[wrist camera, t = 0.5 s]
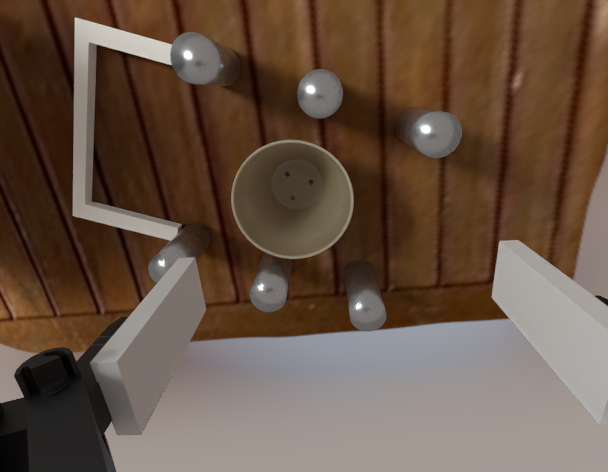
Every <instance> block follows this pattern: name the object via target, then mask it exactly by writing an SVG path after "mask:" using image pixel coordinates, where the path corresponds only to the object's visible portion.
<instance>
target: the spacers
mask: <svg viewBox="0 0 608 472" xmlns="http://www.w3.org/2000/svg"><path fill="white" fill-rule="evenodd" d="M170 59H171V64H172V67H173V69H174V71H175V72H176V74H177V75H178V76H179V77H180V78H181V79H182V80H184V81H186V82H188V83H191V84H200V85H214V86H230V85H232V84H234V83H235V82H236V81H237V80H238V78H239V76H240V73H241V63H240V60H239V58H238V56H237V55H236V53H235V52H234V51H232V50H231V49H229V48H227V47H225V46H223V45H221V44H219V43H217V42H215V41H213V40H211V39H209V38H207V37H205V36H203V35H201V34H198V33H194V32H187V33H184V34H182V35H180V36H179V37H177V38H176V40H175V41H174V42H173V45H172V47H171V52H170ZM297 98H298V102H299V105H300V107H301V108H302V110H303V111H304V112H305V113H306V114H307V115H309V116H311V117H314V118H326V117H329V116H330V115H332V114H333V113H335V112H336V111H337V109H338V108H339V106H340V104H341V102H342V98H343V88H342V85H341V82H340V80H339V79H338V77H337V76H336V75H335V74H333V73H332V72H330V71H328V70H324V69H316V70H313V71H311V72H309V73H307V74H306V75H305V76H304V77H303V78H302V80H301V81H300V83H299V86H298V90H297ZM395 131H396V134H397V136H398V138H399V139H400V140H401V141H403V142H404V143H406V144H408V145H409V146H411V147H413V148H414V149H416V150H418V151H419V152H421V153H423V154H424V155H426V156H428V157H432V158H441V157H445V156H447V155H449V154H450V153H452V152H453V151H454V150H455V149H456V148H457V146H458V145H459V143H460V140H461V137H462V127H461V124H460V122H459V120H458V119H457V118H456V117H455V116H454V115H452V114H450V113H447V112H441V111H434V110H428V109H421V108H409V109H407V110H405V111H403V112H402V113H401V114H400V115H399V117H398V118H397V121H396V124H395ZM211 240H212V237H211V233H210V231H209V230H208V228H207V227H206V226H204V225H202V224H200V223H190V224H188V225H186V226H185V227H184V228H183V229H182V230H181V231H180V232H179V233H178V234H177V235H176V236H175V237H174V238H173V239H172V240H171V241H170V242H169V243H168V244H167V245H166V246H165V247H164V248H163V249H162V250H161V251H160V252H159V253H158V254H157V255H156V256H154V257H153V258H152V259H151V261H150V262H149V266H148V271H149V274H150V276H151V278H152V279H153V280H154V281H155V282H156V283H158V282H159V281H160V279H161V278H162V277H163V276H164V275H165V273H166V272H167V271H168V270H169V269H170V268H171V266H172V265H173V264H174V263H175V262H176V260H177V259H178V258H191V257H195V259H196V263H197V261H198V260H199V259H200V257H201V256H202V255H203V253H204V252H205V251H206V249H207V248H208V246H209V245H210V243H211ZM292 262H293V259H286V258H280V257H276V256H273V255H270V254H268V253H266V252H264V255H263V258H262V260H261V263H260V266H259V269H258V272H257V274H256V277H255V280H254V283H253V286H252V288H251V291H250V299H251V302H252V303H253V305H254V306H255V307H256V308H258V309H259V310H262V311H265V312H274V311H277V310H279V309H280V308H282V307H283V305H284V304H285V302H286V297H287V291H288V285H289V279H290V274H291V268H292ZM345 282H346V290H347V298H348V306H349V313H350V320H351V322H352V324H353V325H354V326H355V327H356V328H357V329H359V330H362V331H373V330H376V329H378V328H380V327H381V326H382V325H383V324H384V322H385V320H386V310H385V307H384V304H383V300H382V297H381V293H380V290H379V287H378V283H377V280H376V276H375V273H374V270H373V267H372V266H371V265H370V264H369V263H368V262H365V261H354V262H352V263H350V264H349V265H348V266H347V268H346V269H345Z"/></svg>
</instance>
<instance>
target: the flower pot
mask: <svg viewBox="0 0 608 472" xmlns="http://www.w3.org/2000/svg"><path fill="white" fill-rule="evenodd" d="M286 174H288V176H286ZM310 180H312V182H309V181H310ZM293 197H295V198H294V199H293ZM231 205H232V210H233V214H234V217H235V220H236V222H237V225H238V227H239V228H240V230H241V231H242V233H243V234H244V236H245V237H246V238H247V239H248V240H249V241H250V242H251V243H252V244H253V245H255V246H256V247H257V248H259V249H260V250H262V251H264V252H266V253H268V254H270V255H273V256H276V257H280V258H286V259H301V258H307V257H311V256H314V255H317V254H319V253H321V252H323V251H325V250H327V249H328V248H330V247H331V246H332V245H333V244H334V243H336V242H337V241H338V240H339V238H340V237H341V236H342V235H343V233H344V232H345V230H346V229H347V227H348V225H349V223H350V220H351V217H352V213H353V207H354V194H353V188H352V184H351V181H350V178H349V176H348V174H347V172H346V170H345V169H344V167H343V166H342V164H341V163H340V162H339V161H338V160H337V159H336V158H335V157H334V156H333V155H332V154H331V153H329V152H328V151H327V150H325V149H323V148H322V147H320V146H318V145H315V144H313V143H310V142H306V141H301V140H282V141H277V142H273V143H270V144H267V145H265V146H263V147H261V148H259V149H258V150H256V151H255V152H254V153H252V154H251V155H250V156H249V157H248V158H247V159H246V160H245V161H244V162H243V164H242V165H241V167H240V168H239V170H238V172H237V174H236V176H235V179H234V182H233V186H232V192H231Z"/></svg>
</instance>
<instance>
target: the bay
mask: <svg viewBox="0 0 608 472" xmlns="http://www.w3.org/2000/svg"><path fill="white" fill-rule="evenodd" d="M97 45H101V46H104V47H108V48H111V49H115V50H119V51H122V52H126V53H129V54H133V55H137V56H140V57H144V58H147V59H151V60H154V61H158V62H162V63H165V64H169V65H172V64H171V59H170V52H171V47H172V44H168V43H164V42H161V41H157V40H154V39H150V38H147V37H143V36H140V35H136V34H133V33H129V32H125V31H122V30H118V29H115V28H111V27H108V26H104V25H101V24H97V23H93V22H90V21H86V20H83V19H79V18H76V17H75V49H74V140H73V216H75V217H79V218H83V219H87V220H91V221H95V222H99V223H103V224H107V225H111V226H115V227H119V228H122V229H126V230H130V231H134V232H138V233H142V234H146V235H150V236H154V237H158V238H162V239H166V240H170V241H171V240H172V239H173V238H174V237H175V236H176V235H177V234H178V233H179V232H180V231H181V230H182V224H179V223H175V222H171V221H168V220H164V219H160V218H156V217H152V216H148V215H144V214H140V213H136V212H132V211H128V210H125V209H121V208H117V207H113V206H109V205H105V204H101V203H97V202H93V201H92V179H93V148H94V117H95V86H96V55H97Z"/></svg>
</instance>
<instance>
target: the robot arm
mask: <svg viewBox="0 0 608 472" xmlns="http://www.w3.org/2000/svg"><path fill="white" fill-rule="evenodd" d="M492 298H493V300H494V301H495V302H496V303H497V304H498V306H499V307H500V308H501V309H502V310H503V312H504V313H505V314H506V315H507V316H508V317H509V319H510V320H511V321H512V322H513V323H514V325H515V326H516V327H517V328H518V329H519V330H520V332H521V333H522V334H523V335H524V336H525V338H526V339H527V340H528V341H529V342H530V343H531V345H532V346H533V347H534V348H535V349H536V351H537V352H538V353H539V354H540V355H541V357H542V358H543V359H544V360H545V361H546V362H547V364H548V365H549V366H550V367H551V368H552V370H553V371H554V372H555V373H556V374H557V376H558V377H559V378H560V379H561V380H562V381H563V383H564V384H565V385H566V386H567V387H568V389H569V390H570V391H571V392H572V393H573V394H574V396H575V397H576V398H577V399H578V400H579V401H580V403H581V404H582V405H583V406H584V407H585V409H586V410H587V411H588V412H589V413H590V415H591V416H592V417H593V418H594V419H595V421H596V422H597V423H598V424H599V425H608V299H606V298H603V297H601V296H593V295H592V294H590V293H589V292H588V291H586V290H585V289H584V288H582V287H581V286H580V285H578V284H577V283H576V282H574V281H573V280H572V279H570V278H569V277H568V276H566V275H565V274H563V273H562V272H561V271H559V270H558V269H557V268H555V267H554V266H553V265H551V264H550V263H549V262H547V261H546V260H545V259H543V258H542V257H541V256H539V255H538V254H536V253H535V252H534V251H532V250H531V249H530V248H528V247H527V246H526V245H524V244H523V243H522V242H520V241H519V240H509V241H499V248H498V255H497V262H496V269H495V276H494V284H493V291H492ZM205 311H206V306H205V302H204V297H203V292H202V287H201V282H200V278H199V273H198V268H197V263H196V259H195V257H191V258H178V259H177V260H176V262H175V263H174V264H173V265H172V266H171V268H170V269H169V270H168V271H167V272H166V273H165V275H164V276H163V277H162V278H161V279H160V281H159V282H158V283H157V284H156V285H155V286H154V288H153V289H152V290H151V291H150V292H149V294H148V295H147V296H146V297H145V298H144V299H143V301H142V302H141V303H140V304H139V305H138V307H137V308H136V309H135V310H134V311H133V312H132V314H131V315H130V316H129V317H121V318H120V319H118V320H117V321H115V322H114V323H112V324H111V325H109V326H108V327H107V328H106V330H105V331H104V332H103V333H102V334H101V335H100V337H99V338H97V340H96V341H95V342H94V343H93V346H90V347H89V348H88V350H87V351H86V352H85V353H84V354H83V355H82V356H81V357H80V358H79V360H78V361H77V362H76V360H75V358H74V355H73V353H72V351H71V350H70V349H68V348H63V347H62V348H53V349H50V350H47V351H43V352H41V353H39V354H37V355H35V356H33V357H31V358H30V359H28V360H27V361H25V362H24V363H23V364H22V365H21V366H20V367H19V368H18V369H17V370H16V372H15V375H14V377H15V379H16V381H17V383H18V385H19V387H20V389H21V391H22V393H23V395H24V398H20V399H16V400H12V401H8V402H4V403H0V472H116V469H115V466H114V462H113V459H112V456H111V452H110V449H109V445H108V442H107V439H106V437H105V434H104V432H105V431H106V429H107V428H108V426H109V424H110V423H111V421H112V423H113V426H114V429H115V431H116V434H117V435H142V433H143V431H144V429H145V427H146V425H147V423H148V421H149V419H150V417H151V416H152V414H153V412H154V410H155V408H156V406H157V404H158V402H159V400H160V398H161V396H162V394H163V392H164V390H165V388H166V386H167V384H168V383H169V381H170V379H171V377H172V375H173V373H174V371H175V369H176V367H177V365H178V363H179V361H180V359H181V358H182V355H183V354H184V352H185V350H186V348H187V346H188V344H189V342H190V340H191V338H192V336H193V334H194V332H195V331H196V329H197V327H198V325H199V323H200V321H201V319H202V317H203V315H204V313H205Z"/></svg>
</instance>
